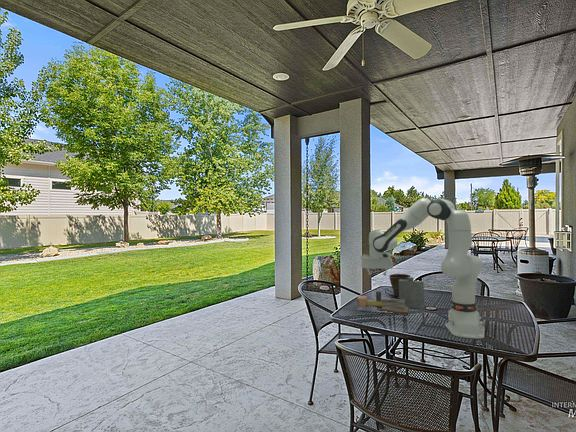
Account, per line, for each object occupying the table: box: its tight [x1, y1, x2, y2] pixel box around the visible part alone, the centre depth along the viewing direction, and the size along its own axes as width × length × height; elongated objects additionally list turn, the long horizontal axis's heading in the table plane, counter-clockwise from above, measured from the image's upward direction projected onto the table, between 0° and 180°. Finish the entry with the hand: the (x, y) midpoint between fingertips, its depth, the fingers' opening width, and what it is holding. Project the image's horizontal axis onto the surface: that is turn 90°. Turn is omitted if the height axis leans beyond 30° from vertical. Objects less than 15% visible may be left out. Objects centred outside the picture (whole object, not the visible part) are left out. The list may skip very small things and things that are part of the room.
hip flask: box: [398, 276, 426, 310], centre depth 209 cm, size 16×4×20 cm, turn 57°
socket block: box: [357, 295, 368, 307], centre depth 211 cm, size 6×6×6 cm
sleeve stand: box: [373, 297, 409, 316], centre depth 206 cm, size 14×32×7 cm, turn 68°
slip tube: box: [366, 291, 382, 307], centre depth 208 cm, size 3×16×9 cm, turn 68°
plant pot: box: [388, 273, 411, 298], centre depth 233 cm, size 15×15×16 cm
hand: (377, 275), depth 207 cm, fingers open, 8 cm apart
